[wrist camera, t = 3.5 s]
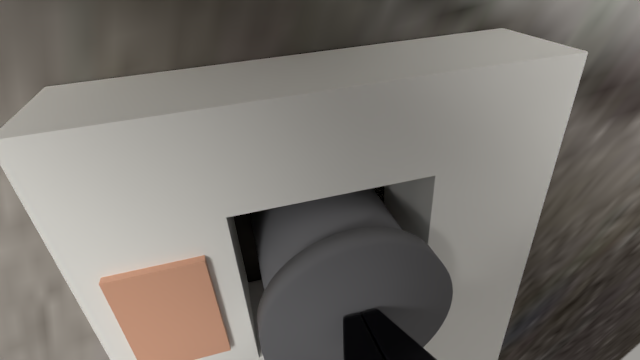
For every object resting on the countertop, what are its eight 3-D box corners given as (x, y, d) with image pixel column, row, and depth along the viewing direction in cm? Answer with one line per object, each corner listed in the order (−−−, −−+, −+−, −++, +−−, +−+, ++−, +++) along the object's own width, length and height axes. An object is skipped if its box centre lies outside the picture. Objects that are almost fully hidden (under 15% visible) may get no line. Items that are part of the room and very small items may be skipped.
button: (379, 250, 14) (442, 357, 11) (253, 279, 13) (274, 408, 10) (381, 136, 12) (464, 224, 8) (228, 162, 11) (243, 274, 7)
